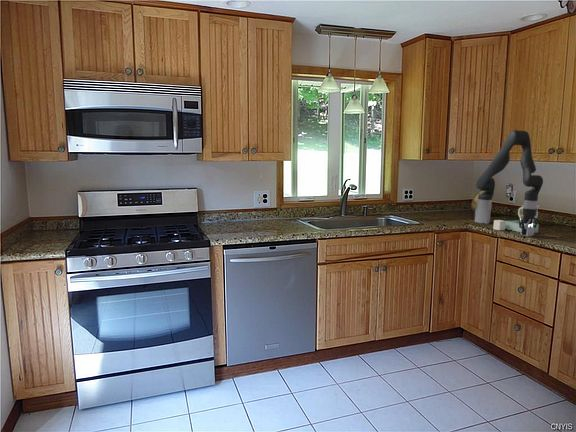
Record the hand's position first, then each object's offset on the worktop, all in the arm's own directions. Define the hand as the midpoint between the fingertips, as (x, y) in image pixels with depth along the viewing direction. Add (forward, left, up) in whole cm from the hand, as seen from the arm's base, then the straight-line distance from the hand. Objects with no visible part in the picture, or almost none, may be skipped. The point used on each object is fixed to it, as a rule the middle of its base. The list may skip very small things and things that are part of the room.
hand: (526, 234), depth 253 cm
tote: (-12, +9, 0) cm, 15 cm away
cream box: (-20, -1, -1) cm, 20 cm away
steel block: (0, 0, 0) cm, 0 cm away
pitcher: (-34, +41, -1) cm, 53 cm away
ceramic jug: (-74, +38, -1) cm, 83 cm away
